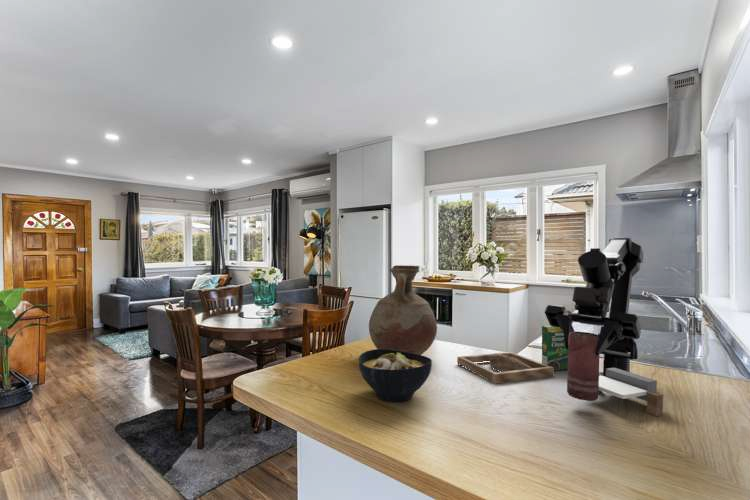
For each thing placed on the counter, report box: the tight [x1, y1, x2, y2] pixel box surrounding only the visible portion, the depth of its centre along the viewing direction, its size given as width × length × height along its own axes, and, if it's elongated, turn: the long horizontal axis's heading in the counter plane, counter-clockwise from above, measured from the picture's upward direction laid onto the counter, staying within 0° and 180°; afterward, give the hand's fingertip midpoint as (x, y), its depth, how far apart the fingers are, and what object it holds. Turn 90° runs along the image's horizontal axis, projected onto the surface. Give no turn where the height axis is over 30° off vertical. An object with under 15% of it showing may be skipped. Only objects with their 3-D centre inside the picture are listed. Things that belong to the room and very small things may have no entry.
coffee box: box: [541, 325, 568, 371], centre depth 112 cm, size 8×3×13 cm, turn 101°
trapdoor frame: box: [598, 374, 664, 417], centre depth 87 cm, size 2×16×4 cm, turn 21°
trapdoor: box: [599, 368, 658, 402], centre depth 87 cm, size 12×12×4 cm
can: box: [566, 330, 600, 402], centre depth 83 cm, size 6×6×14 cm
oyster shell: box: [489, 352, 532, 372], centre depth 111 cm, size 10×12×5 cm
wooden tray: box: [456, 351, 555, 384], centre depth 109 cm, size 20×17×2 cm
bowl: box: [358, 348, 433, 403], centre depth 88 cm, size 17×17×10 cm
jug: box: [368, 264, 438, 356], centre depth 118 cm, size 22×22×30 cm
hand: (581, 350), depth 82 cm, fingers closed on can, 6 cm apart
